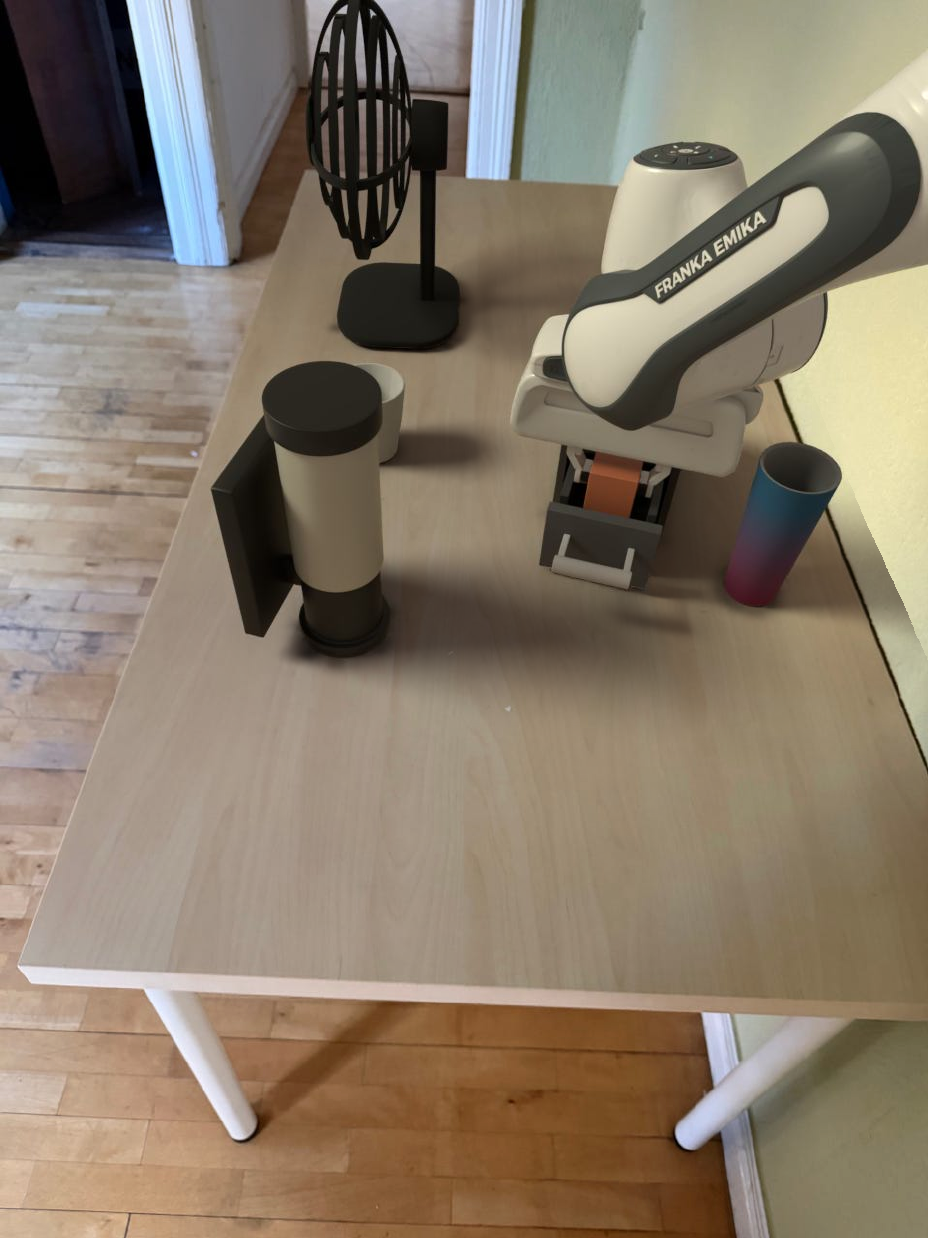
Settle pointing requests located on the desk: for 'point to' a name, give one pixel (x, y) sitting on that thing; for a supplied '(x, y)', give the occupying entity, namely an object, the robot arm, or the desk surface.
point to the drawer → (601, 537)
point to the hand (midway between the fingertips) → (612, 485)
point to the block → (612, 484)
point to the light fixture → (310, 508)
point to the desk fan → (382, 292)
